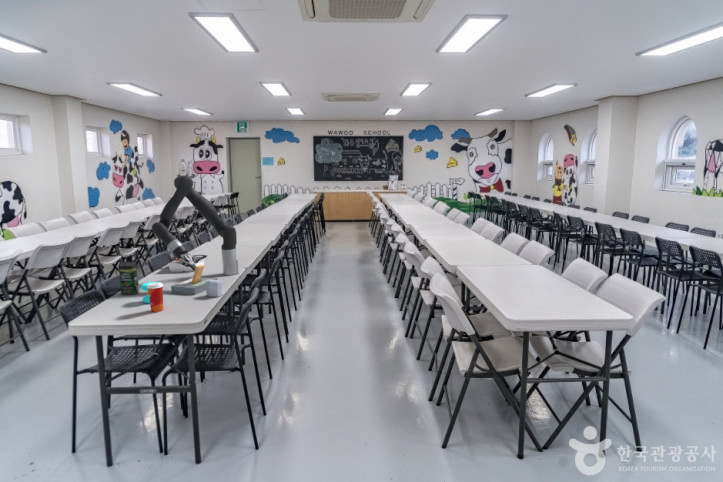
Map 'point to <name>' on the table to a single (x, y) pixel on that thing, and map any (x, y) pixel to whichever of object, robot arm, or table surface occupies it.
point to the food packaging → (178, 267)
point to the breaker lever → (197, 274)
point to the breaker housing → (190, 286)
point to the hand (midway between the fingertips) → (196, 270)
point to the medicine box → (214, 288)
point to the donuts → (144, 287)
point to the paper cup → (155, 296)
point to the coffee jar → (128, 278)
